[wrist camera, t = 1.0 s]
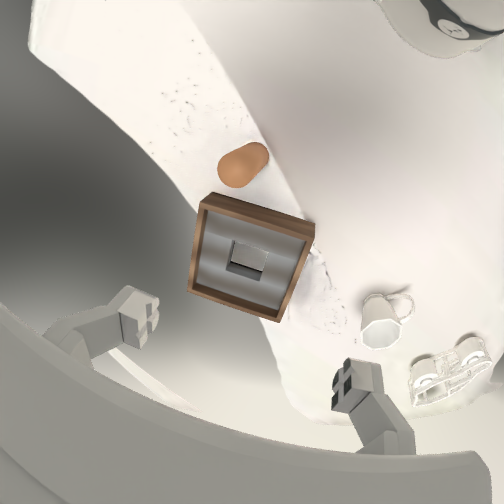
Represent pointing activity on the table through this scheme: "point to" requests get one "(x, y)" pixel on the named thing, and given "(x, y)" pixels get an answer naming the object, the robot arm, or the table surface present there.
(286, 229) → the box
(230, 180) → the peg
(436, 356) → the skeletal toy car
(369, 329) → the cup
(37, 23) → the table surface
